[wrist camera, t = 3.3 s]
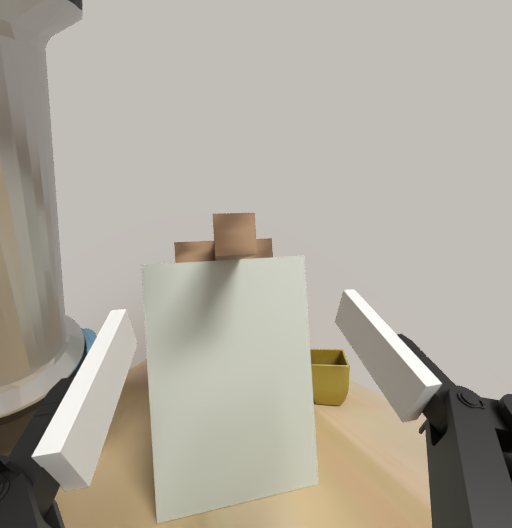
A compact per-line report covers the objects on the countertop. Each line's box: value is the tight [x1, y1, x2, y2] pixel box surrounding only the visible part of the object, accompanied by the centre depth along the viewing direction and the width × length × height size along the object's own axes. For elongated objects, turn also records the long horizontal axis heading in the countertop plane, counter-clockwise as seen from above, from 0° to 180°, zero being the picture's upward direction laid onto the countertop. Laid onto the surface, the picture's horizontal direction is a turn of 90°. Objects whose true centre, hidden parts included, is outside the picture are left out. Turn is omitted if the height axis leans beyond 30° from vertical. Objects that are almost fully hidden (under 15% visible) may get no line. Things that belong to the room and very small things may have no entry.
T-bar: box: [174, 213, 273, 263], centre depth 27 cm, size 14×21×3 cm, turn 10°
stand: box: [141, 256, 319, 524], centre depth 33 cm, size 20×10×30 cm, turn 100°
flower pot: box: [310, 349, 350, 406], centre depth 48 cm, size 9×9×9 cm
